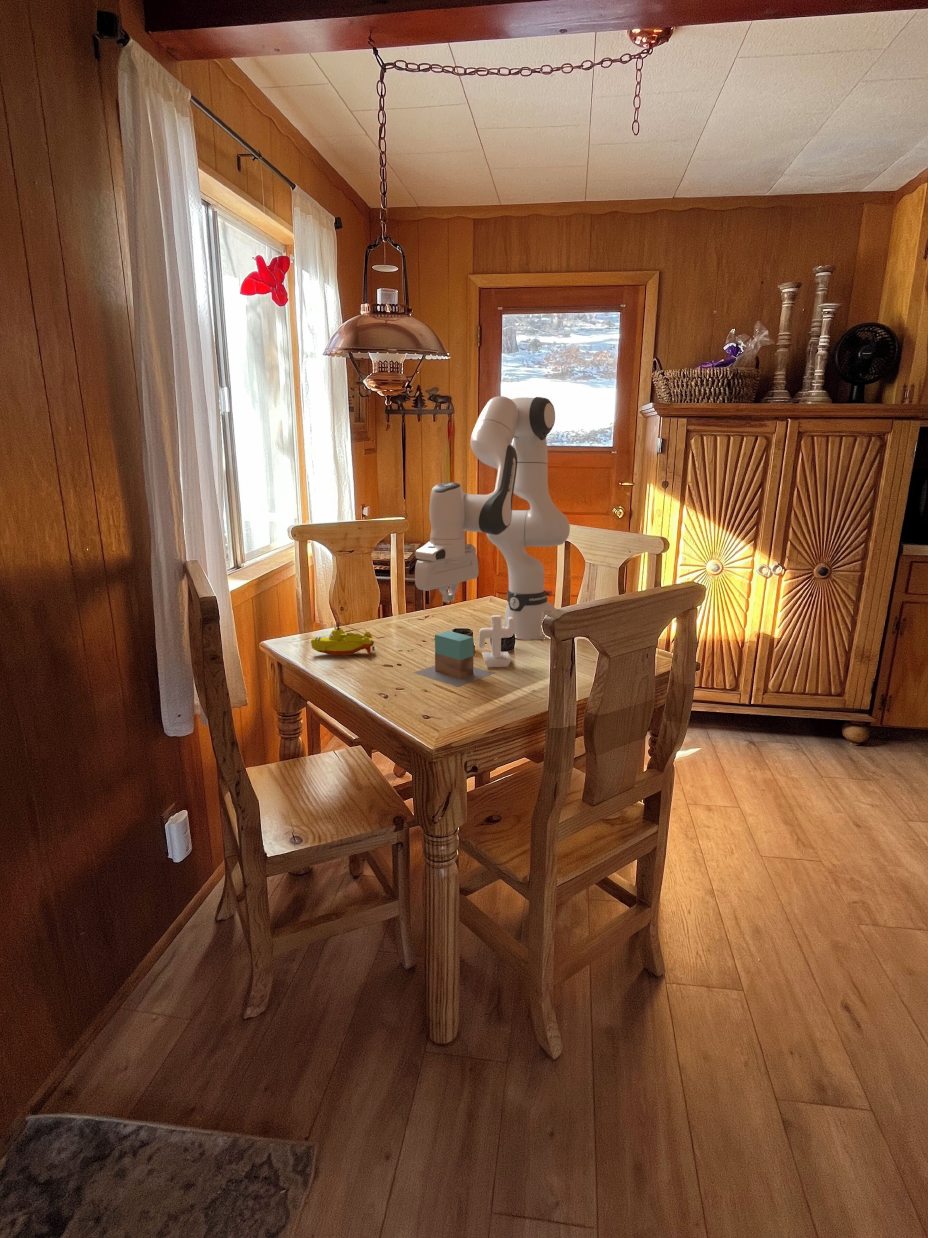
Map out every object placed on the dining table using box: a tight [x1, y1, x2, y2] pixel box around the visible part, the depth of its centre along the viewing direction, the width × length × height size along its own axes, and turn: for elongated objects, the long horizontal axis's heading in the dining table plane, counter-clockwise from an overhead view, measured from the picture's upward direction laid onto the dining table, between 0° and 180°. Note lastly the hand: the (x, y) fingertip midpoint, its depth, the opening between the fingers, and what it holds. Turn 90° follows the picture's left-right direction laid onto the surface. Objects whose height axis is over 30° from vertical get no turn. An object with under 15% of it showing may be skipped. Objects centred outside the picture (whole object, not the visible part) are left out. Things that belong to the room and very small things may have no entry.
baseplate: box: [413, 665, 495, 688], centre depth 183 cm, size 14×16×2 cm
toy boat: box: [310, 621, 376, 657], centre depth 202 cm, size 6×18×10 cm, turn 94°
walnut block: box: [434, 652, 474, 679], centre depth 182 cm, size 5×9×5 cm, turn 47°
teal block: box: [434, 630, 475, 660], centre depth 180 cm, size 5×9×5 cm, turn 47°
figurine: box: [478, 614, 514, 668], centre depth 188 cm, size 7×9×15 cm
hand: (448, 601), depth 181 cm, fingers closed
